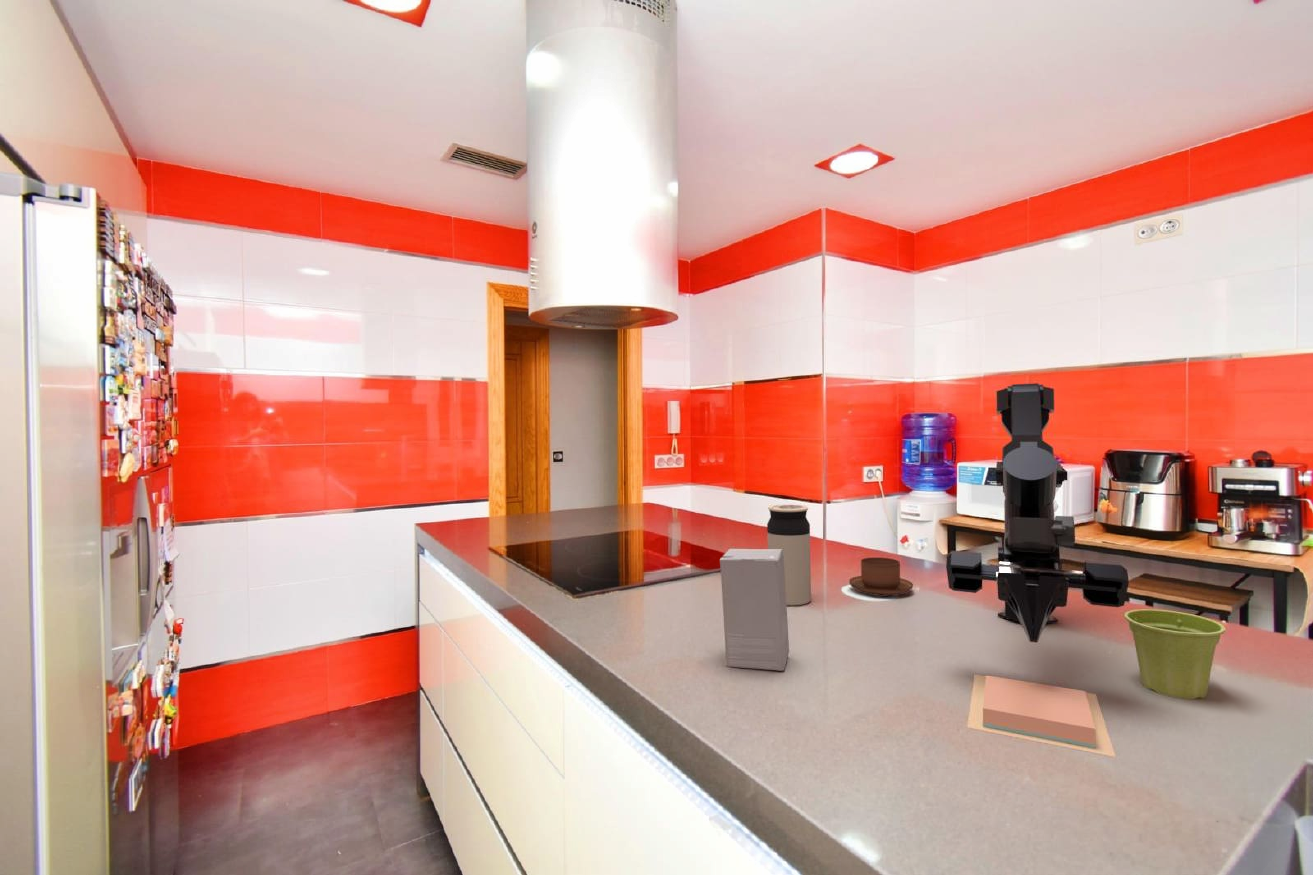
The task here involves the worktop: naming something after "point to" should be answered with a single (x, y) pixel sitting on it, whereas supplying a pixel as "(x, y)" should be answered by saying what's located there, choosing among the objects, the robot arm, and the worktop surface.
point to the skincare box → (754, 608)
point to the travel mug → (792, 549)
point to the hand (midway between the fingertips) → (1033, 640)
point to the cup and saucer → (880, 577)
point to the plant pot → (1174, 650)
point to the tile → (1038, 711)
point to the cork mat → (1100, 731)
